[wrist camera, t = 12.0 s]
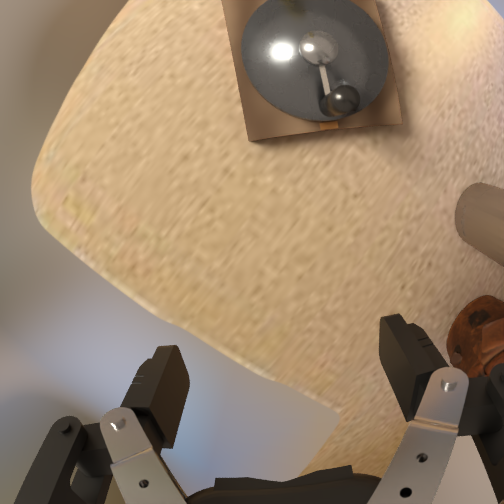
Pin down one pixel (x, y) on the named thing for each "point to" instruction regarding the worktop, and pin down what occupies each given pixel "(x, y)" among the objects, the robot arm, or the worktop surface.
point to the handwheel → (314, 57)
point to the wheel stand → (281, 124)
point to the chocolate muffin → (478, 337)
